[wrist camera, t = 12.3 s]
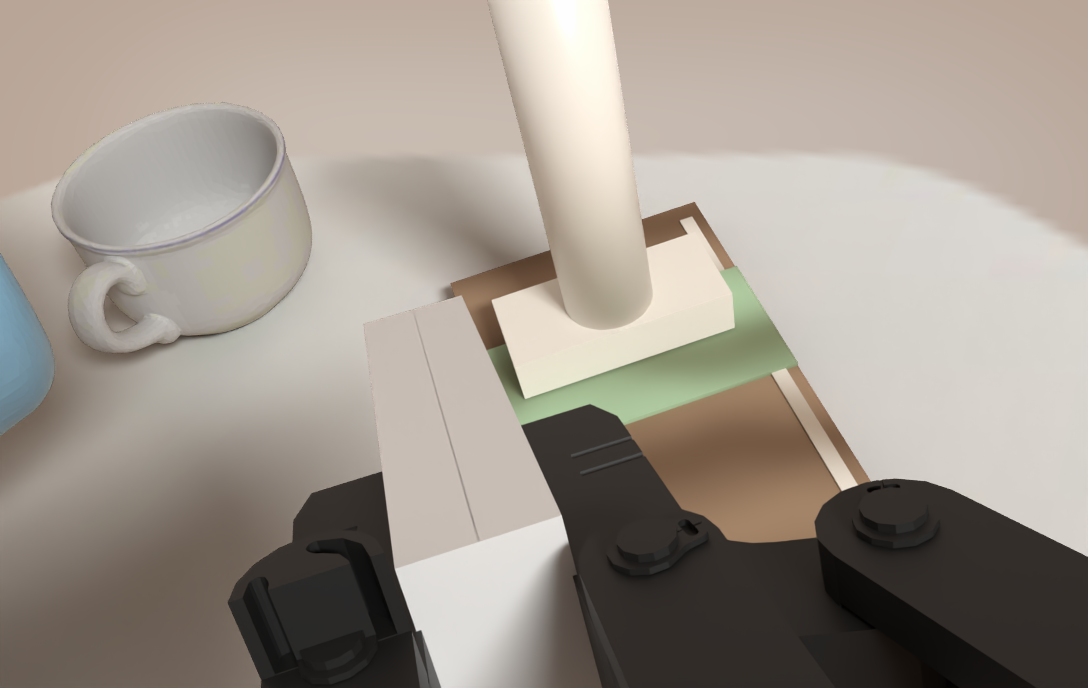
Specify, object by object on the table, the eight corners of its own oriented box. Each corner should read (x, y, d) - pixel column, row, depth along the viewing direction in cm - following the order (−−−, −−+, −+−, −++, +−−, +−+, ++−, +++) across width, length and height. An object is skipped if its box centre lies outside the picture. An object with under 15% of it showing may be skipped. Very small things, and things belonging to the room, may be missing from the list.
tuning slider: (734, 327, 40) (703, -116, 27) (525, 399, 39) (388, -15, 26) (698, 265, 42) (653, -164, 29) (501, 332, 42) (367, -74, 29)
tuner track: (1061, 817, 28) (1073, 798, 26) (662, 964, 27) (656, 952, 26) (696, 225, 47) (694, 198, 46) (458, 305, 46) (449, 280, 45)
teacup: (222, 205, 56) (154, 85, 50) (377, 235, 51) (322, 107, 45) (50, 388, 48) (-53, 272, 42) (215, 443, 44) (124, 321, 38)
